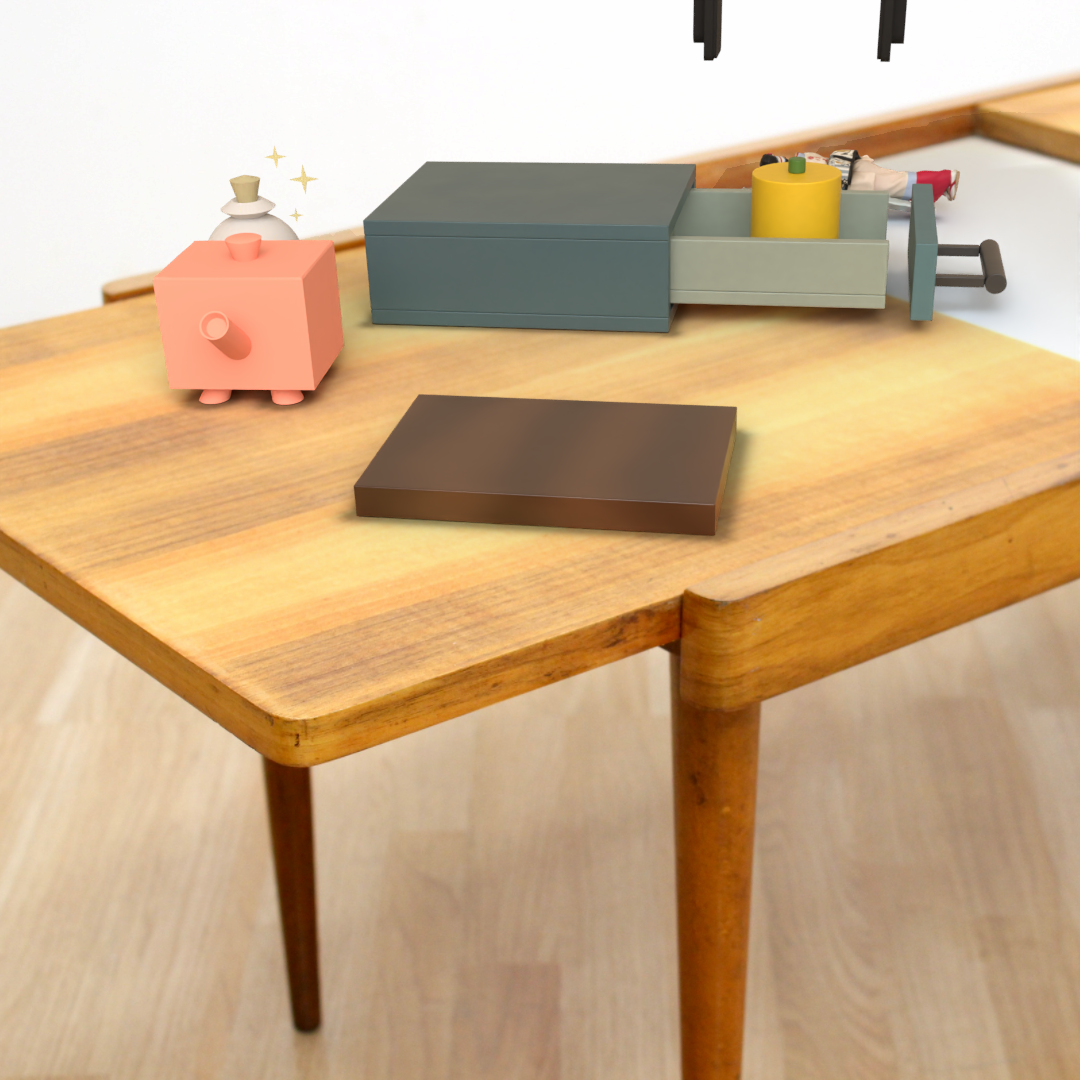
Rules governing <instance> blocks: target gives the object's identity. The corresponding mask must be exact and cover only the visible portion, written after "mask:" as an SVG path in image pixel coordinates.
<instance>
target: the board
mask: <svg viewBox="0 0 1080 1080" xmlns="http://www.w3.org/2000/svg"><path fill="white" fill-rule="evenodd" d="M737 425H738V407H737V406H731V405H729V406H728V405H705V404H704V405H703V404H678V403H653V402H651V403H650V402H629V401H627V402H626V401H601V400H600V401H599V400H578V399H577V400H576V399H551V398H527V397H526V398H525V397H503V396H502V397H499V396H477V395H476V396H474V395H451V394H450V395H449V394H447V395H446V394H423V393H422V394H421V393H420V394H417V396H416V397H415V399H414V400H413V401H412V403H411V405H410V406H409V407H408V408H407V410H406V411H405V413H404V414H403V416H402V417H401V419H400V420H399V421H398V423H397V424H396V425H395V427H394V428H393V430H392V431H391V432H390V434H389V435H388V437H387V438H386V440H385V441H384V443H383V444H382V445H381V447H380V448H379V449H378V451H377V452H376V454H375V455H374V456H373V458H372V459H371V461H370V462H369V464H368V465H367V467H366V468H365V469H364V470H363V472H362V473H361V475H360V477H359V478H358V479H357V480H356V481H355V483H354V484H353V491H354V492H353V494H354V503H355V511H356V512H355V513H356V516H358V517H376V518H391V519H392V518H393V519H394V518H396V519H410V520H412V519H413V520H427V521H428V520H429V521H430V520H431V521H445V522H446V521H447V522H448V521H449V522H467V523H482V524H483V523H485V524H501V525H502V524H504V525H521V526H537V527H538V526H539V527H554V528H555V527H558V528H577V529H592V530H610V531H611V530H613V531H628V532H629V531H630V532H647V533H665V534H682V535H683V534H684V535H701V536H703V535H704V536H715V535H716V530H717V527H718V522H719V517H720V513H721V509H722V503H723V498H724V495H725V489H726V485H727V479H728V475H729V470H730V466H731V461H732V457H733V453H734V447H735V442H736V438H737V431H738V429H737V427H738V426H737Z"/></svg>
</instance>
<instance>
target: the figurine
mask: <svg viewBox="0 0 1080 1080" xmlns="http://www.w3.org/2000/svg"><path fill="white" fill-rule="evenodd" d="M793 155H794V156H793V157H804V158H805V159H806V162H813V163H821V164H826V165H830V166H833V167H836V168H838V169H839V170H840V171H841V172H842V180H841V190H873V191H889V202H888V210H892V211H900V212H905V213H910V210H911V196H912V184H932V188H933V198H934V204H935V203H936V202H937V201H939V199H940V198H941V197H942V196H943V197H946V198H947V200H948V201H949V202H952V201H955V200H956V196H957V191H958V187H959V183H960V178H961V172H960V170H957V169H941V170H929V169H928V170H927V169H926V170H919V171H912V170H911V171H910V170H908V171H907V170H901V171H898V170H894V169H891V168H884V167H881V166H879V165H877V164H875V163H874V162H875V160H874V159H873V158H871V157H870V156H869V155H868V154H865V155H862V156H860V154H859V151H858V149H835V150H834V151H833V152H832V153H830V155H829V157H826V156H823V155H820V154H819V153H817V152H810V151H805V152H804V153H802V152H795V153H794V154H793ZM788 161H789V158H787V157H786V156H781V155H780V156H778V155H775V154H773V152H770V153H769V152H768V153H764V154H763V155H761V158H760V161H759V167H761V166H764V165H768V164H773V163H781V162H788ZM742 189H748V188H747V187H745V186H743V187H742ZM934 208H935V209H936V206H934Z"/></svg>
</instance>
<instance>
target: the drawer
mask: <svg viewBox="0 0 1080 1080" xmlns="http://www.w3.org/2000/svg"><path fill="white" fill-rule="evenodd" d="M751 193H752V188H747V189H743V188H708V187H703V188H701V187H698V188H697V187H696V188H691V190H690V192H689V194H688V196H687V199H686V201H685V203H684V206H683V208H682V210H681V213H680V215H679V217H678V220H677V222H676V224H675V227H674V229H673V231H672V234H671V236H670V303H679V304H685V305H686V304H687V305H690V304H692V305H723V306H725V305H727V306H729V305H730V306H760V307H762V306H766V307H769V306H770V307H796V308H797V307H800V308H801V307H802V308H839V309H874V310H875V309H877V310H885V308H886V302H887V301H886V298H887V285H888V284H887V283H888V268H889V254H890V240H889V239H887V232H888V231H887V230H888V216H889V209H888V202H889V191H873V190H841V200H840V219H839V239H815V238H761V237H750V234H751ZM910 202H911V210H910V212H909V223H908V227H909V228H908V239H907V251H906V252H907V273H908V274H907V276H908V302H909V320H910V321H919V322H920V321H921V322H922V321H923V322H924V321H925V322H931V321H933V316H934V315H933V314H934V305H935V304H934V302H935V301H934V300H935V292H936V291H935V290H936V287H938V288H939V287H940V288H941V287H944V288H946V287H947V288H981V289H982V288H984V289H985V290H986V291H987V292H988V293H990V294H991V295H992V294H993V295H998V294H1001V293H1002V292H1004V291H1005V290H1006V288H1007V284H1008V281H1007V277H1006V271H1005V267H1004V263H1003V258H1002V254H1001V249H1000V245H999V243H998V242H997V241H996V240H994V239H991V238H987V239H985V240H982V242H981V243H979V244H960V243H959V244H957V243H955V244H954V243H939V239H938V229H937V220H936V219H937V217H936V207H935V203H934V198H933V188H932V184H912V196H911V201H910ZM934 207H935V208H934ZM938 257H968V258H970V257H974V258H978V257H979V260H980V266H981V272H982V274H969V273H967V274H963V273H962V274H961V273H937V267H938V265H937V264H938Z"/></svg>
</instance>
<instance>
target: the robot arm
mask: <svg viewBox="0 0 1080 1080" xmlns="http://www.w3.org/2000/svg"><path fill="white" fill-rule="evenodd" d="M879 6H880V7H879V20H878V21H879V22H878V33H877V35H878V36H877V37H878V38H877V48H876V49H877V50H876V60H880V63H890V61H891V53H892V52H891V51H892V50H891V49H892V45H893V44H894V45H899V44H900V45H904V44H905V34H906V33H905V32H906V20H907V7H908V0H880V5H879ZM692 10H693V11H692V13H693V15H692V18H693V19H692V23H693V25H692V41H693V43H694V44H703V61H705V62H706V61H707V62H710V61H711V62H713V61H714V60H715V59H717V58H718V57H719V55H720V53H721V51H722V31H723V30H722V29H723V28H722V25H723V24H722V23H723V0H693V9H692Z"/></svg>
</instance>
